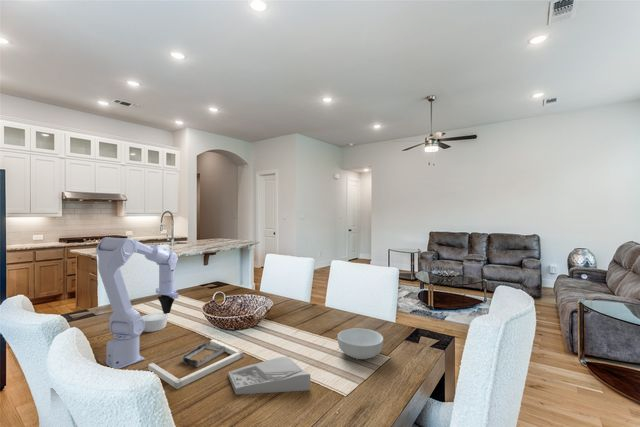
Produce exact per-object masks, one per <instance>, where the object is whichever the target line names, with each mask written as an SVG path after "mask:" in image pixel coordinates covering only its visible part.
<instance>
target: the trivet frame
mask: <svg viewBox="0 0 640 427" xmlns="http://www.w3.org/2000/svg"><path fill="white" fill-rule="evenodd" d="M209 342H210V343H209V345H210V346H216V347H222V348H223V346H225V350H224V352H223V353H227V354H229V356H226V357H225V358H222V359H220V360H218V361H216V362H213V363H211V364H209V365H207V366H205V367H203V368H200V369H198V370H196V371H193V372H191V373H190V374H187V375H186V376H182V377H181V378H178V377H176V376H175V375H174V374H172V373H170V372H168V371H167V370H166V369H163V368H162V367H160V366H158V365H157V364H156V363H154V362H151V363H149V364H148V365H147V367H148V368H147V369H148V372H151V371H152V372H155V373H156V374H157V375H158V376H159V377H158V376H157V375H156V376H157V377H158V378H160V379H161V380H163V381H164V382H165V383H166V384H168V385H170V386H172V387H173V388H175V389H176V390H177V389H180V388H182V387H184V386H186V385H188V384H190V383H193V382H195V381H197V380H199V379H200V378H203V377H205V376H207V375H210V374H211V373H213V372H215V371H218V370H220V369H221V368H223V367H226V366H228V365H230V364H232V363H233V362H236V361H238V360H240V359H242V358H244V352H243V351H241V350H239V349H237V348H235V347H233V346H231V345H227V344H225V343H223V342H221V341H219V340H216V339H214V338H213V339H211V340H210V341H209ZM152 372H151V373H152Z"/></svg>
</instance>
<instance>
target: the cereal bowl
mask: <svg viewBox="0 0 640 427" xmlns="http://www.w3.org/2000/svg"><path fill="white" fill-rule="evenodd" d="M337 344H338V347H339V348H340V351H341V352H343V354H345V355H346V356H349V357H351V358H352V357H353V358H352V359H354V358H356V359H355V360H358V359H365V360H368V359H370V358H374V357H376V356H377V355H379V354H380V353H381V351H382V350H383V347H384V336H383V335H382V334H381V333H380V332H378V331H376V330H372V329H368V328H359V327H356V328H355V327H353V328H347V329H343V330H341V331H340V332H339V333H337Z"/></svg>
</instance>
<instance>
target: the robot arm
mask: <svg viewBox="0 0 640 427" xmlns="http://www.w3.org/2000/svg"><path fill="white" fill-rule="evenodd" d="M95 252H96V255H97V258H98V265H97V268H98V273H99V275H100V278H101V281H102V285H103V287H104V290H105V292H106V296H107V298H108V302H109V304H110V307H111V310H112V312H113V313H112V314H111V315H110V316H109V318H108V320H109V332H110V333H111V334H112V335H113V339H111V340H108V341H107V342H106V345H105V346H106V347H105V352H106V353H105V358H106V359H105V361H104V362H105V364H106V365H107V366H108V367H110V368H111V367H112V368H117V370H120V369H122V368H124V367H128V366H130V365H133V364H135V363H139V362H141V361H144V360H145V357H143V356H142V355H140V335H142V333H143V332H144V331H143V330H144V327H145V320H144V319H143V318H142V316H141V314H140V312H139V311H138V310H136V309H135V308H134V307H133V306H132V302H131V300H130V296H129V293H128V290H127V286H126V284H125V281H124V277H123V274H122V271H121V268H122V267H123V266H124V265H125V264H126V263H127V261H129V259H130V258H131V257H132V255H133V254H134V253H135V254H136V253H137V254H139V255H144V257H145V259H146V260H148V261H151V262H154V263H155V264H156V265H157V266H158V287H157V288H155V294H158V295H159V296H157V300H158V301H159V302H160V305H161V310H162V313H164V314H170V313H171V310H172V306H173V303H174V301H175V300H176V299H179V293H178V292H177V291H178V289H177V288H175V271H176V268H177V263H178V260H179V257H178V255H177V253H176V252H174V251H168V250H167V248H161V247H160V245H159V244H153V245H150V246H149V245H147V244H144V243H142V242H141V241H138V240H137V239H134V238H131V237H125V238H123V237H109V236H106V237H103V238H102V239H101V240H100V241H99V242H98V244H97V245H96V248H95ZM112 368H111V369H112Z"/></svg>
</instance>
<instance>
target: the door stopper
mask: <svg viewBox="0 0 640 427" xmlns="http://www.w3.org/2000/svg"><path fill="white" fill-rule="evenodd" d="M227 377H228V379H229V381H230V384H231V386H232V388H233V392H234V394H235V395H248V394H250V395H251V394H267V393H268V394H269V393H285V392H300V391H302V392H303V391H305V392H306V391H311V374H310V373H308V372H307V371H304V370H303V369H302V368H301V367H300V366H299V365H298V364H297V363H296V362H295V361H294V360H293V359H291V358H290V357H289V356H280V357H275V358H271V359H267V360H265V361H261V362H258V363H253V364H249V365H245V366H242V367H240V368H236V369H234V370H230V371H228V374H227Z"/></svg>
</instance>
